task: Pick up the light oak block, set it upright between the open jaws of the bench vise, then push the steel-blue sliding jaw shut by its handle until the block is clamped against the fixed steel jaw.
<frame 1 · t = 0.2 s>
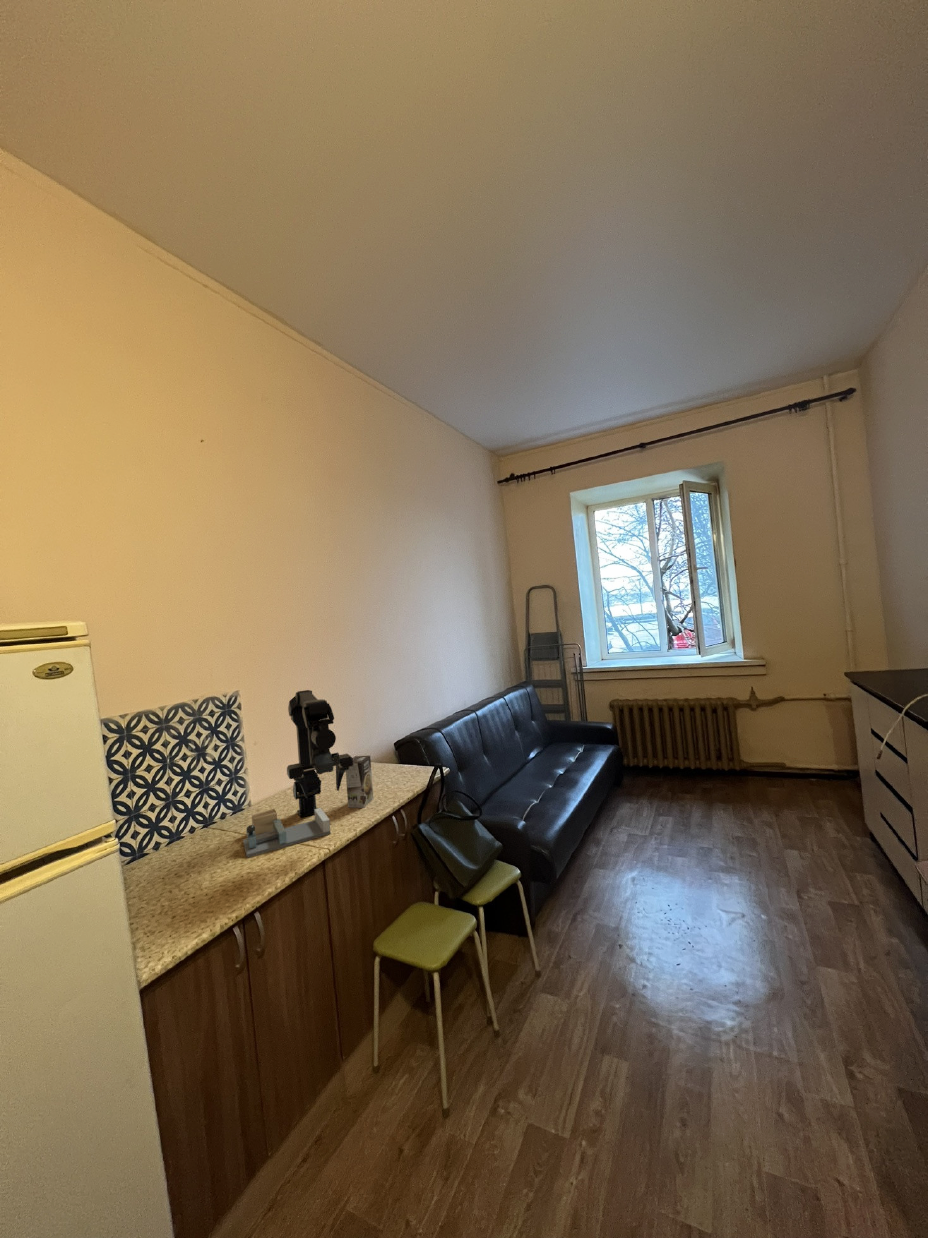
hand: (322, 794, 145), 14 cm above the countertop, fingers open, 9 cm apart
sliding jaw: (265, 830, 146), point 4 cm above the countertop, slide at 0.0 cm
oak block: (265, 832, 156), on the countertop
vise bed: (287, 838, 149), on the countertop
coffee box: (361, 803, 175), on the countertop
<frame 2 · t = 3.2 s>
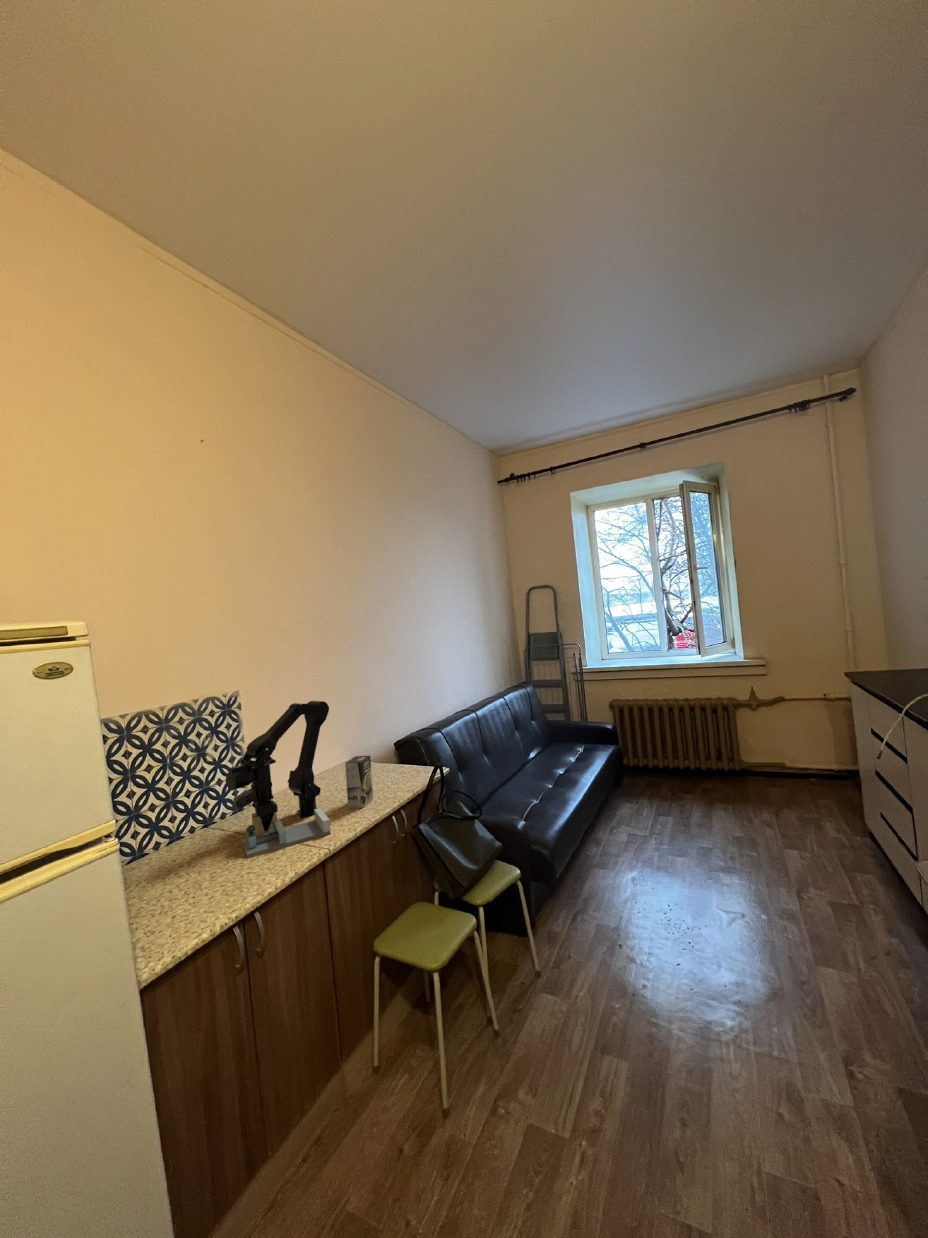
hand: (265, 828, 156), 1 cm above the countertop, fingers closed on oak block, 5 cm apart
oak block: (265, 831, 156), on the countertop, touching gripper
everything else where it was.
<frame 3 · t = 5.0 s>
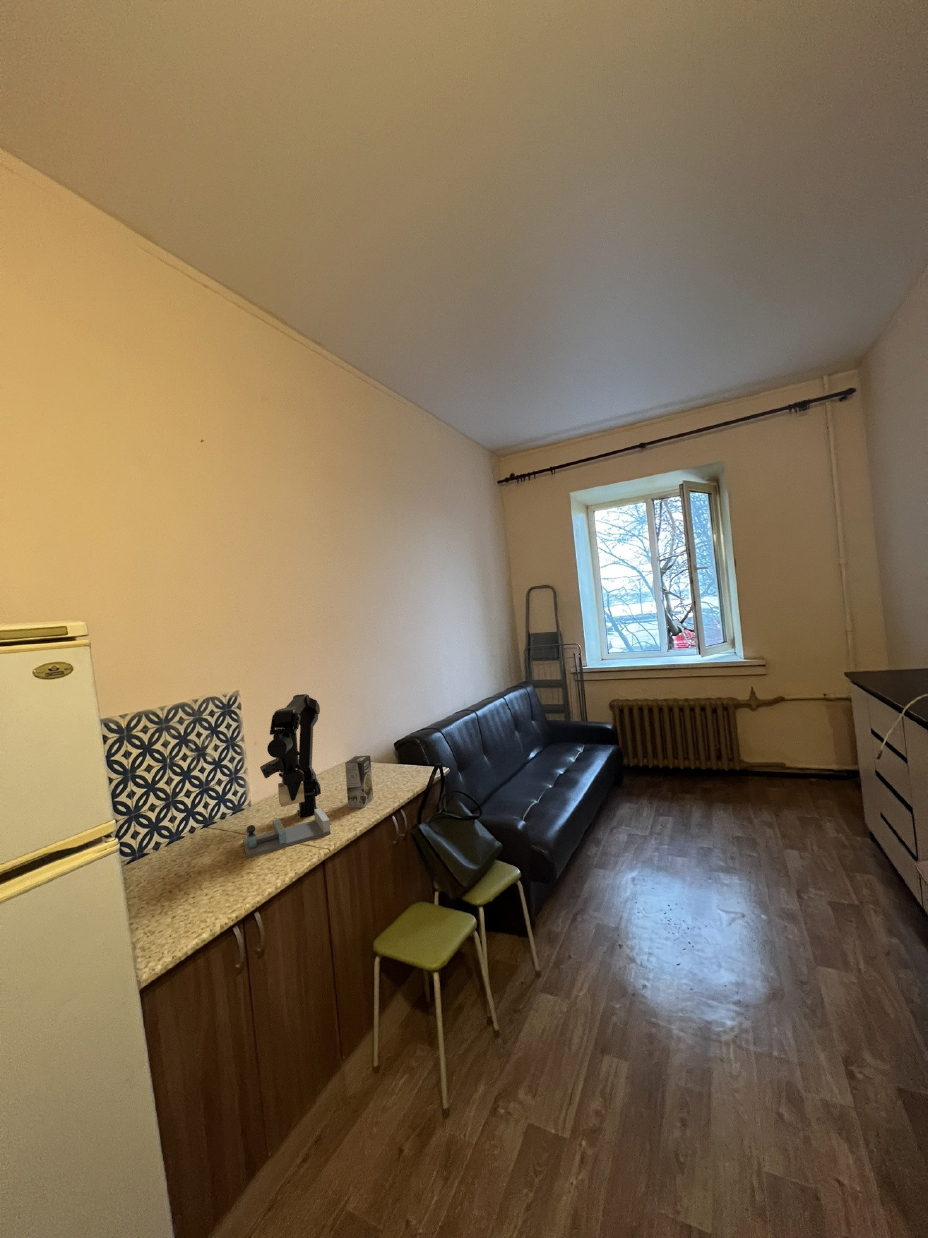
hand: (291, 798, 153), 11 cm above the countertop, fingers closed on oak block, 5 cm apart
oak block: (291, 801, 153), point 10 cm above the countertop, touching gripper
everything else where it was.
when the fingers open (3 cm above the countertop, at t = 7.2 s): oak block stays where it is, resting on vise bed.
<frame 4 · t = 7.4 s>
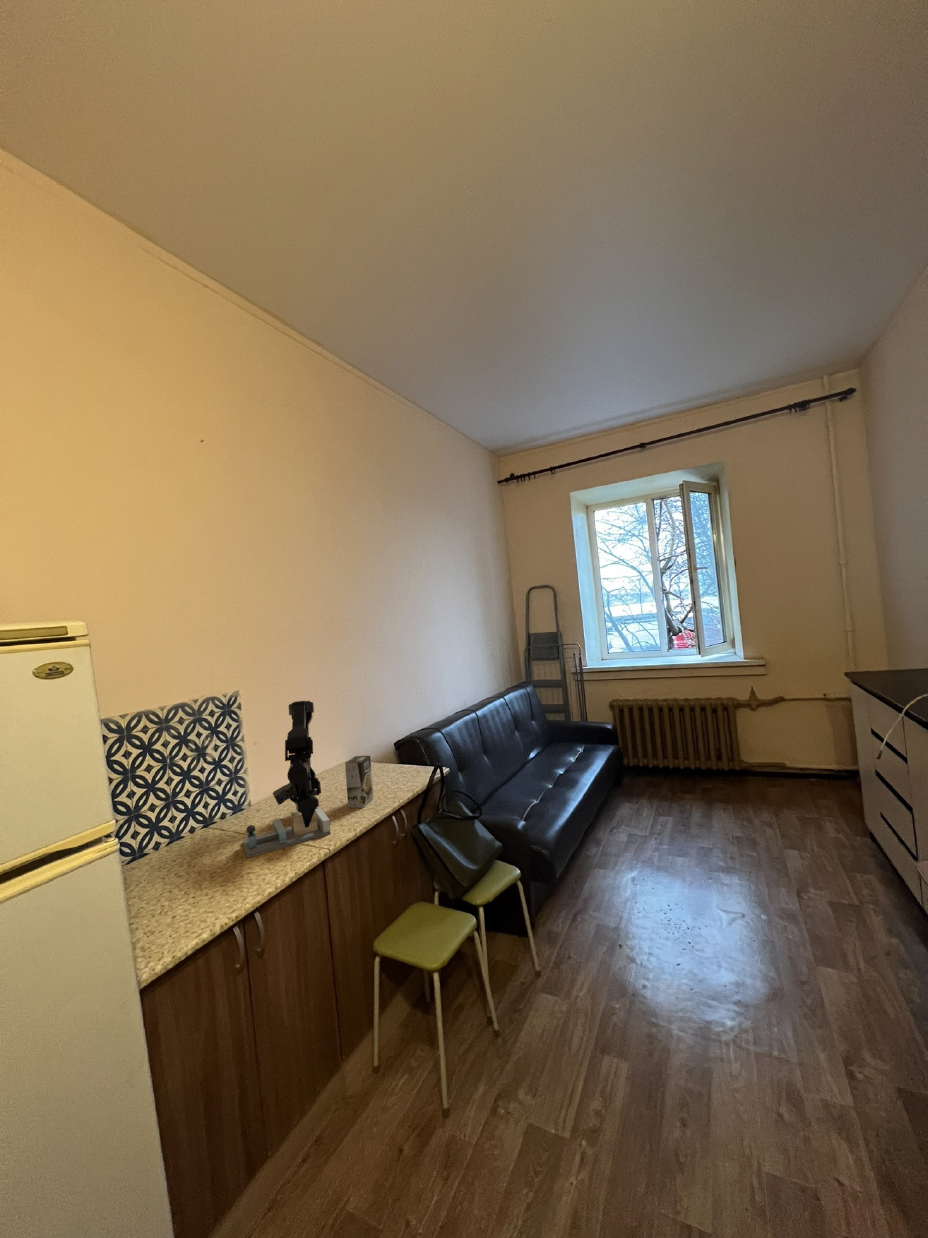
hand: (304, 823, 152), 3 cm above the countertop, fingers open, 7 cm apart
oak block: (304, 830, 152), point 1 cm above the countertop, touching vise bed
everything else where it was.
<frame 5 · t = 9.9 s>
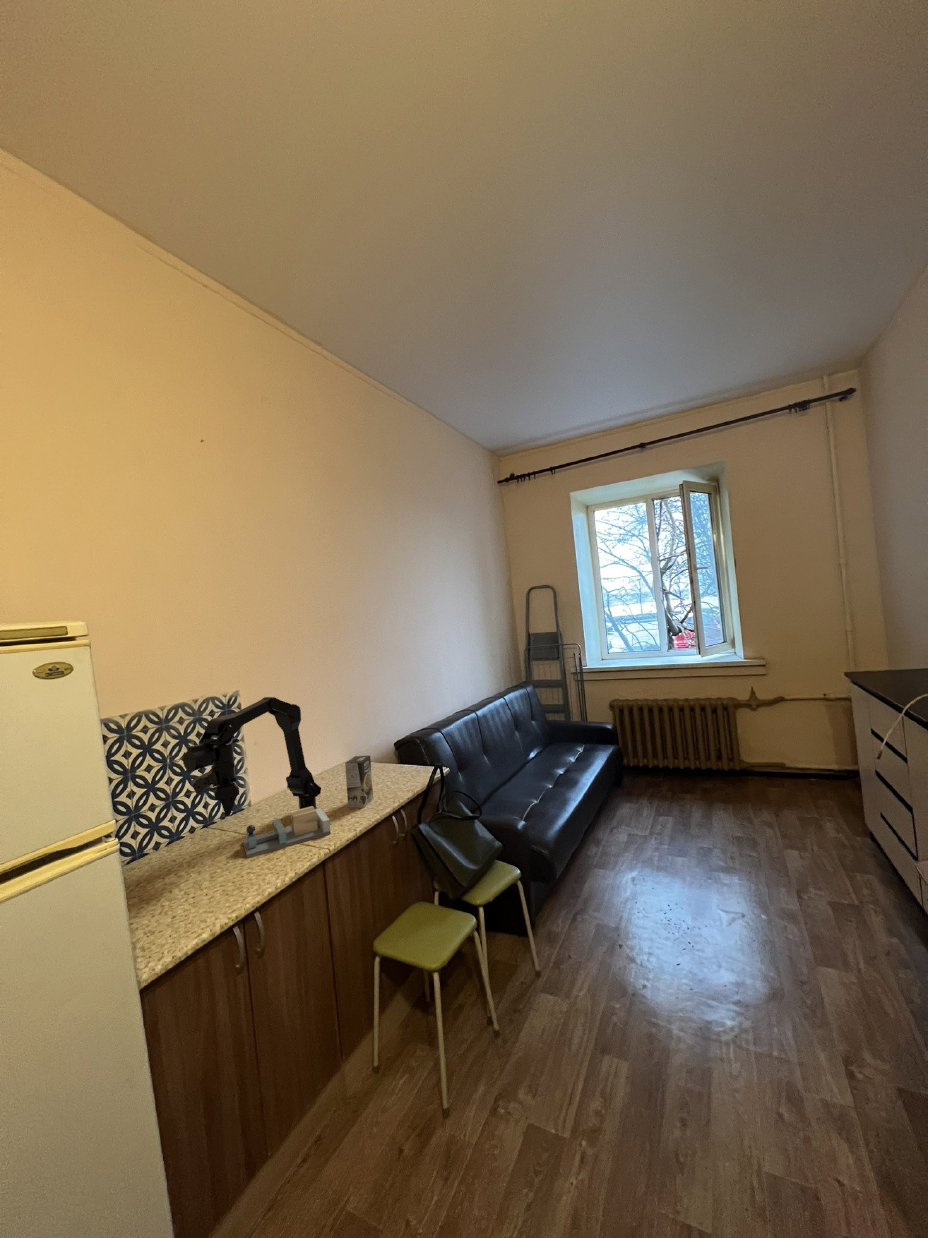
hand: (227, 813, 141), 12 cm above the countertop, fingers open, 5 cm apart
nothing on the countertop moved.
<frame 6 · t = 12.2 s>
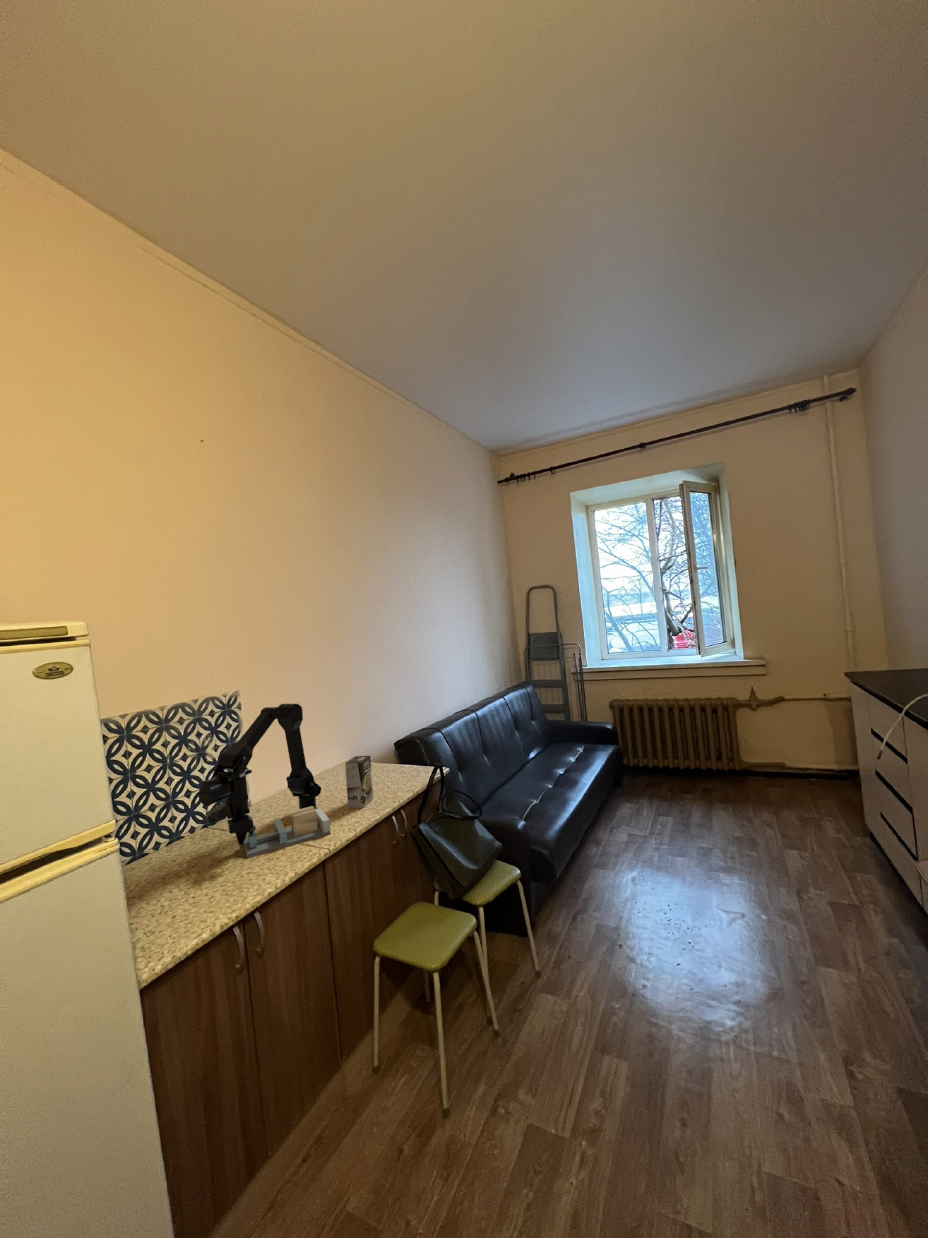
hand: (241, 844, 143), 2 cm above the countertop, fingers closed
sliding jaw: (265, 830, 147), point 4 cm above the countertop, slide at 0.2 cm, touching gripper
everything else where it was.
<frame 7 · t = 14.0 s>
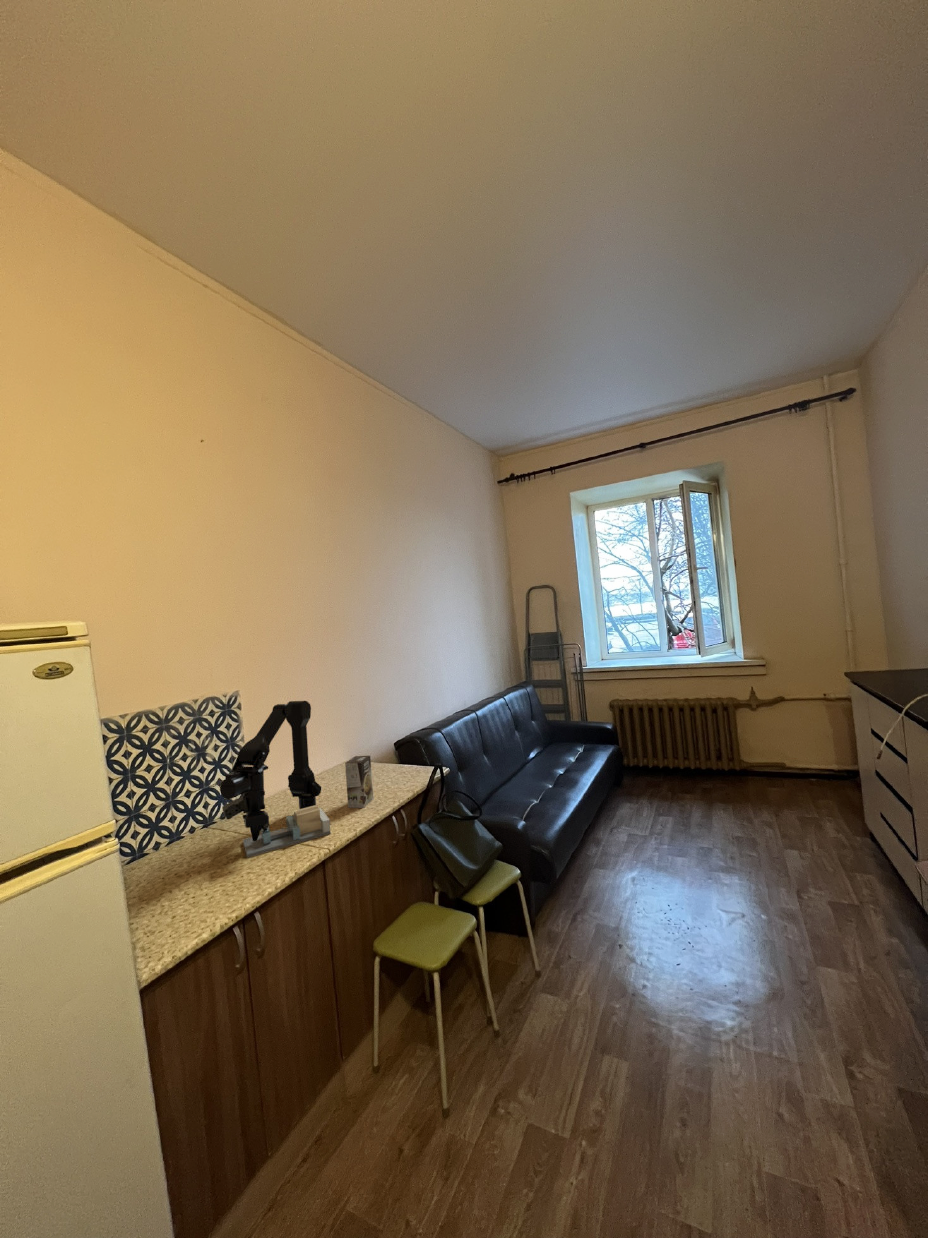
hand: (254, 840, 145), 2 cm above the countertop, fingers closed
sliding jaw: (278, 827, 148), point 4 cm above the countertop, slide at 4.0 cm, touching gripper, oak block
oak block: (308, 829, 153), point 1 cm above the countertop, touching sliding jaw, vise bed
everything else where it was.
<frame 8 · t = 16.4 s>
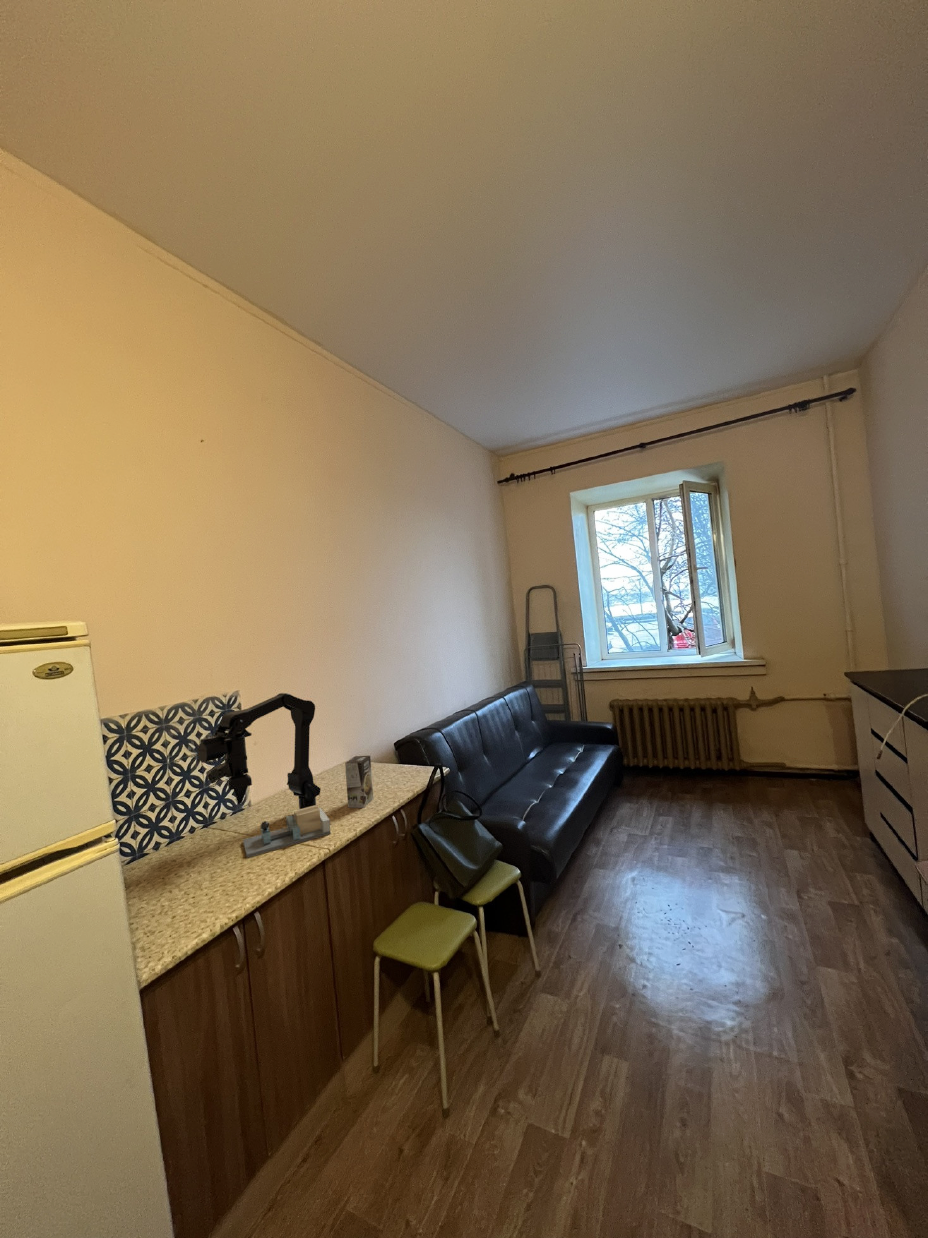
hand: (239, 803, 150), 12 cm above the countertop, fingers closed
sliding jaw: (278, 827, 148), point 4 cm above the countertop, slide at 4.0 cm
oak block: (308, 829, 153), point 1 cm above the countertop, touching vise bed
everything else where it was.
at the end: sliding jaw slide at 4.0 cm; oak block 0.1 cm from the target spot, point 1.0 cm above the countertop; oak block tilted 0° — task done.
